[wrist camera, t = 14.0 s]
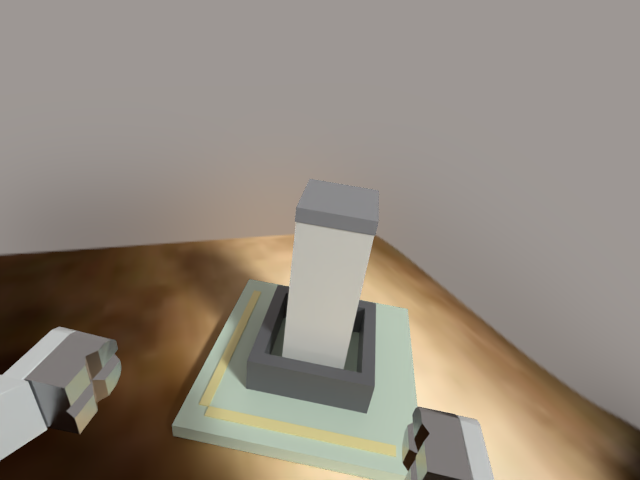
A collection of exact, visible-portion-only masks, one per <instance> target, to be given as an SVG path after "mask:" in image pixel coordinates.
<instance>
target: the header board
mask: <svg viewBox="0 0 640 480" xmlns="http://www.w3.org/2000/svg"><path fill="white" fill-rule="evenodd" d="M288 295H289V286H283V285H278V284H273V283H267V282H262V281H257V280H252V279H249V281H248V282H247V284H246V286H245V288H244V290H243V292H242V294H241V296H240V298H239V299H238V301H237V303H236V305H235V307H234V309H233V311H232V313H231V315H230V316H229V318H228V320H227V322H226V324H225V326H224V328H223V330H222V331H221V333H220V335H219V337H218V339H217V341H216V343H215V345H214V347H213V348H212V350H211V352H210V354H209V356H208V358H207V360H206V362H205V364H204V365H203V367H202V369H201V371H200V373H199V375H198V377H197V379H196V380H195V382H194V384H193V386H192V388H191V390H190V392H189V394H188V396H187V397H186V399H185V401H184V403H183V405H182V407H181V409H180V411H179V413H178V414H177V416H176V418H175V420H174V422H173V424H172V431H173V436H176V437H181V438H186V439H190V440H195V441H199V442H204V443H208V444H213V445H218V446H222V447H227V448H231V449H236V450H240V451H245V452H250V453H254V454H259V455H263V456H268V457H272V458H277V459H282V460H286V461H291V462H295V463H300V464H305V465H309V466H314V467H318V468H323V469H327V470H332V471H337V472H341V473H346V474H350V475H355V476H359V477H364V478H369V479H373V480H404V479H405V477H406V475H407V473H408V471H407V469H406V468H405V466H404V465H403V463H402V443H403V438H404V433H405V430H406V428H407V425H409V424H411V423H413V417H412V414H413V412H414V410H415V408H417V399H416V389H415V379H414V368H413V358H412V348H411V338H410V328H409V318H408V309H405V308H400V307H394V306H389V305H384V304H378V303H373V302H368V301H363V300H359V304H358V308H357V312H356V317H355V321H354V326H353V330H352V334H351V339H350V343H349V347H348V352H347V356H346V361H345V365H344V369H339V368H334V367H329V366H324V365H319V364H314V363H309V362H304V361H300V360H295V359H290V358H285V357H282V353H283V344H284V334H285V324H286V314H287V305H288Z"/></svg>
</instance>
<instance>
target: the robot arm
mask: <svg viewBox="0 0 640 480" xmlns="http://www.w3.org/2000/svg"><path fill="white" fill-rule="evenodd" d="M117 350H118V347H117V344H116V340H112V339H108V338H104V337H100V336H96V335H92V334H88V333H84V332H80V331H76V330H71V329H67V328H63V327H58V328H55V329H53V330H51V331H50V332H49V333H48V334H47V335H46V336H44V337H43V338H42V339H41V340H40V341H39V342H38V343H37V344H36V345H35V346H33V347H32V348H31V349H30V350H29V351H28V352H27V353H26V354H25V355H24V356H22V357H21V358H20V359H19V360H18V361H17V362H16V363H15V364H14V365H13V366H11V367H10V368H9V369H8V370H7V371H6V372H5V373H4V374H3V375H0V460H2V459H3V458H5V457H6V456H8V455H9V454H11V453H12V452H14V451H15V450H17V449H18V448H20V447H22V446H23V445H25V444H26V443H28V442H29V441H31V440H32V439H34V438H35V437H37V436H38V435H40V434H41V433H43V432H44V431H46V430H47V428H52V429H57V430H62V431H67V432H72V433H77V434H80V433H81V432H82V431H83V429H84V428H85V427H86V425H87V424H88V423H89V421H90V420H91V419H92V417H93V416H94V415H95V413H96V412H97V411H98V401H100V400H101V399H103V398H105V397H107V396H109V394H110V393H111V391H112V390H113V389H114V387H115V386H116V384H117V381H118V379H119V376H120V372H121V363H120V360H119V359H118V358H117V357H116V355H115V354H114V353H115V352H116V351H117ZM412 417H413V423H411V424H409V425H407V428H406V430H405V433H404V438H403V443H402V463H403V465H404V466H405V468H406V469H407V471H408V473H407V475H406V477H405V479H404V480H494V477H493V473H492V469H491V465H490V461H489V457H488V454H487V450H486V446H485V442H484V438H483V434H482V430H481V426H480V424H479V422H478V421H477V420H476V419H472V418H468V417H463V416H458V415H455V414H451V413H447V412H442V411H437V410H432V409H427V408H422V407H417V408H415V410H414V412H413V414H412Z"/></svg>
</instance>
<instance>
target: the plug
mask: <svg viewBox="0 0 640 480" xmlns="http://www.w3.org/2000/svg"><path fill="white" fill-rule="evenodd" d="M378 201H379V191H378V190H372V189H367V188H361V187H355V186H349V185H343V184H337V183H331V182H325V181H319V180H313V179H310V180H309V182H308V184H307V186H306V188H305V190H304V192H303V194H302V196H301V199H300V201H299V203H298V205H297V207H296V216H295V222H296V228H295V237H294V246H293V256H292V266H291V276H290V285H289V295H288V305H287V314H286V324H285V334H284V344H283V353H282V357H285V358H290V359H295V360H300V361H304V362H309V363H314V364H319V365H324V366H329V367H334V368H339V369H344V365H345V361H346V356H347V352H348V347H349V343H350V339H351V334H352V330H353V326H354V321H355V317H356V312H357V308H358V304H359V299H360V295H361V291H362V286H363V282H364V278H365V273H366V269H367V264H368V260H369V256H370V251H371V247H372V243H373V238H374V236H375V234H376V230H377V226H378V210H379V207H378V206H379V205H378V204H379V202H378Z"/></svg>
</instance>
